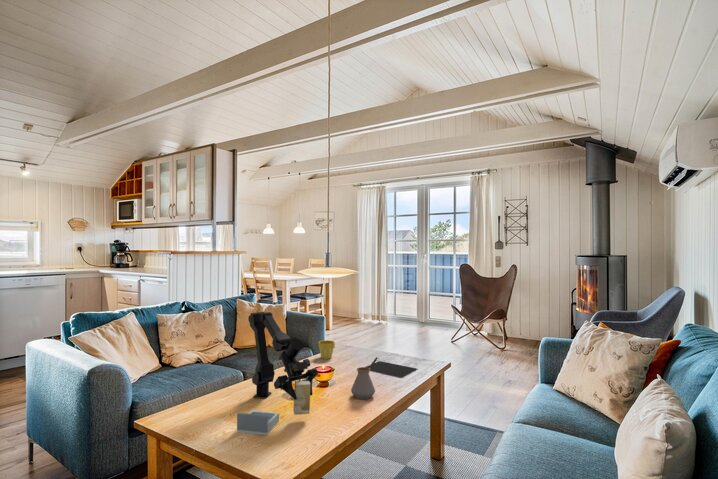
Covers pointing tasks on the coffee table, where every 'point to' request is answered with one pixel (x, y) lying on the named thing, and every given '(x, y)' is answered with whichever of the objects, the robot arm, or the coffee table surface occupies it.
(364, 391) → the coffee pot
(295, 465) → the coffee table surface
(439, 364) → the coffee table surface
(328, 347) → the plant pot
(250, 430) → the seat tray
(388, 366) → the tablet
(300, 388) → the skincare box
